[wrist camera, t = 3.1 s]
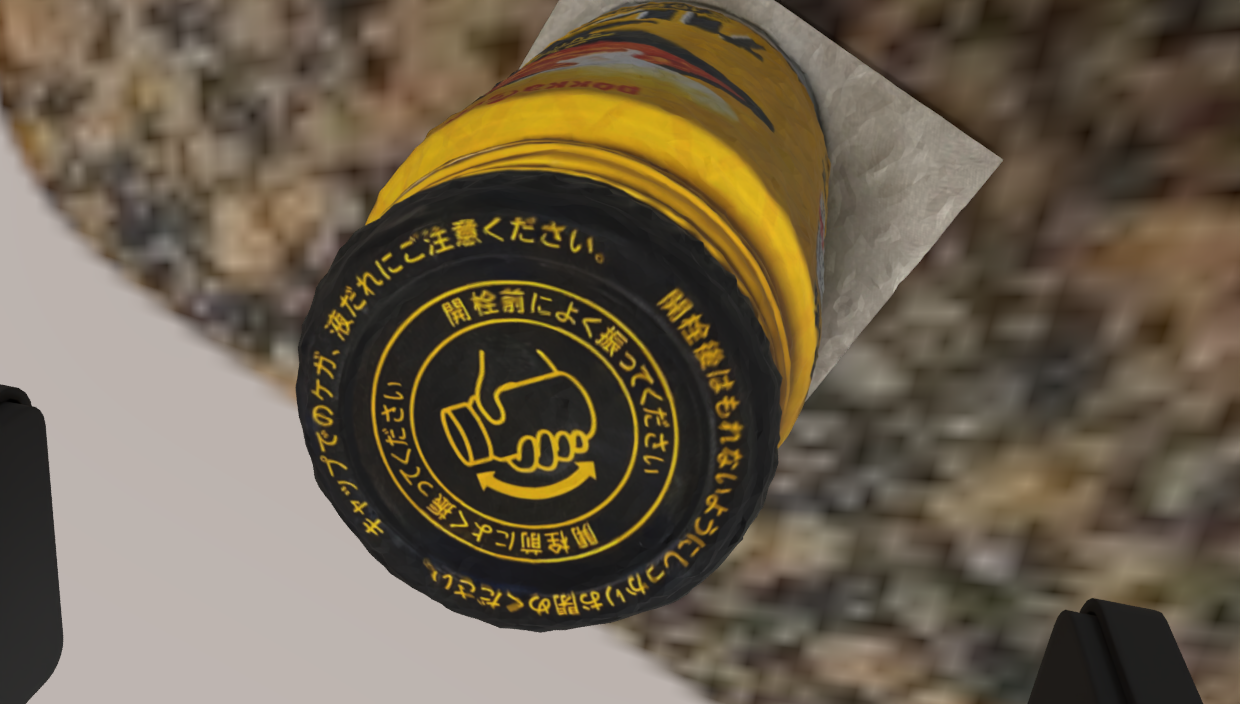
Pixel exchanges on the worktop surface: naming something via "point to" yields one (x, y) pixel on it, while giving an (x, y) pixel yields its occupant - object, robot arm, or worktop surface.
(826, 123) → the condiment
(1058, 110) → the worktop surface
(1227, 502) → the worktop surface
